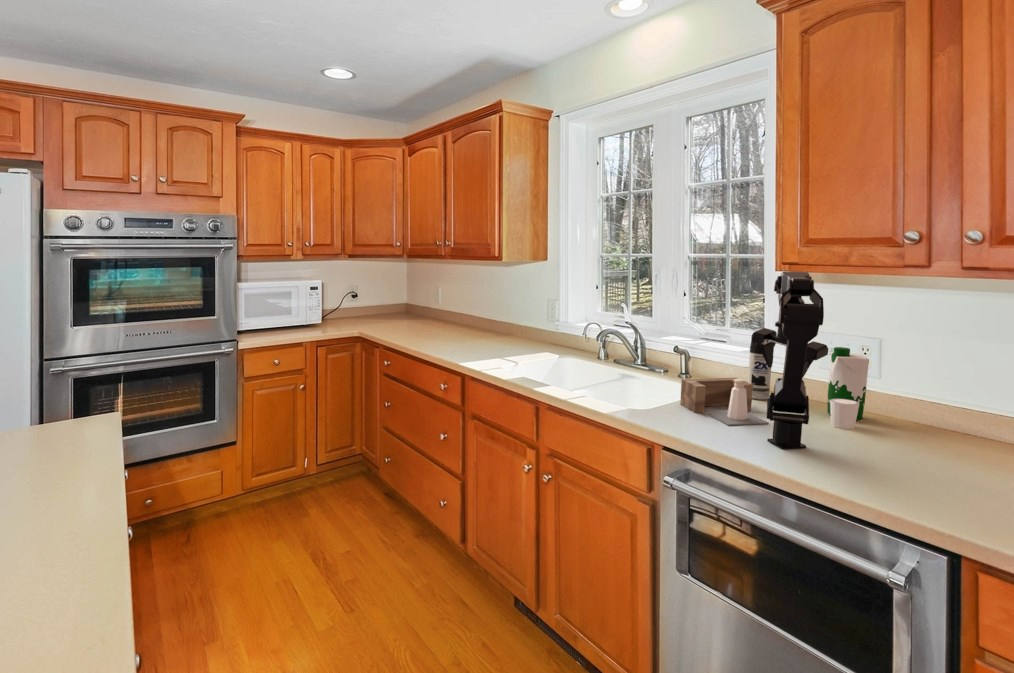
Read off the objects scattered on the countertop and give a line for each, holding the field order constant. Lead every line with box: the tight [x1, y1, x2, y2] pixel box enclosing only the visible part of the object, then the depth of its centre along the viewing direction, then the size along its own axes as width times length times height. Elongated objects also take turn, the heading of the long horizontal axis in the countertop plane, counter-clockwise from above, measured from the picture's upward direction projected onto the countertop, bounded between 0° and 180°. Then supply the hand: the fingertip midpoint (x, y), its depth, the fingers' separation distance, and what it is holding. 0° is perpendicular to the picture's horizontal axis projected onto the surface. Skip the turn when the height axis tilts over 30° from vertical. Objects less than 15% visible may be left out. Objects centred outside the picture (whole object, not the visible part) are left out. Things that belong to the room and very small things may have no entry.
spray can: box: [747, 341, 772, 401], centre depth 185 cm, size 7×7×20 cm
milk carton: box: [826, 346, 870, 421], centre depth 163 cm, size 9×9×20 cm
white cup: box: [830, 399, 860, 430], centre depth 155 cm, size 7×7×7 cm
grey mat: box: [706, 411, 770, 427], centre depth 162 cm, size 12×12×1 cm
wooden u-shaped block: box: [680, 377, 753, 414], centre depth 174 cm, size 10×18×8 cm, turn 99°
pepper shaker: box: [727, 378, 748, 420], centre depth 161 cm, size 5×5×11 cm
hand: (785, 372), depth 155 cm, fingers open, 9 cm apart
